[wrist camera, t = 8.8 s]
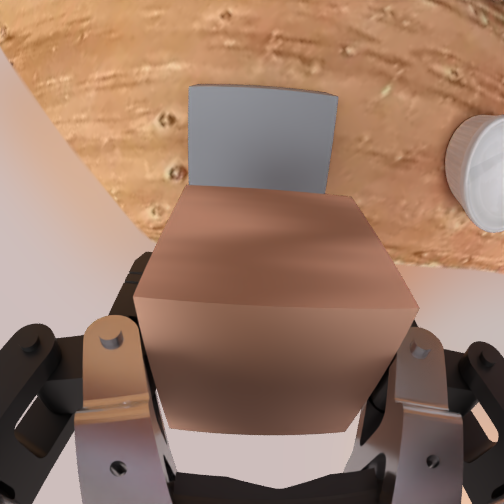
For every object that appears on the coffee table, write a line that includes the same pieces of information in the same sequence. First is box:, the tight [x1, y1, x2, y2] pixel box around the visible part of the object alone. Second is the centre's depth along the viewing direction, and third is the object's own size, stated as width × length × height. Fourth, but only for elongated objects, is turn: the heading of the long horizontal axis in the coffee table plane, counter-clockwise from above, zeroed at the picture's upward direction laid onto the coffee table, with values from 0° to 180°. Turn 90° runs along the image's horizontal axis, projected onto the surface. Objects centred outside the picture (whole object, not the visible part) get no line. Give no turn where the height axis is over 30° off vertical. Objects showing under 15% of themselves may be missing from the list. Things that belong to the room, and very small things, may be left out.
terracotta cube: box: [133, 185, 419, 435], centre depth 8 cm, size 5×5×5 cm
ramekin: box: [445, 115, 504, 233], centre depth 22 cm, size 11×11×5 cm
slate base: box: [188, 84, 338, 194], centre depth 23 cm, size 10×10×4 cm
